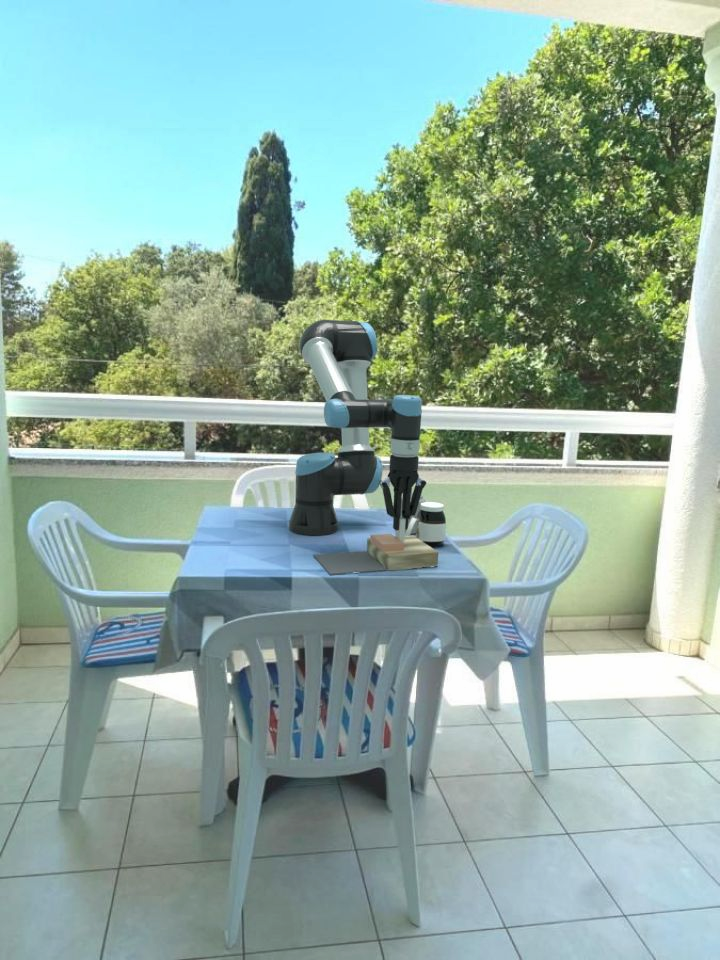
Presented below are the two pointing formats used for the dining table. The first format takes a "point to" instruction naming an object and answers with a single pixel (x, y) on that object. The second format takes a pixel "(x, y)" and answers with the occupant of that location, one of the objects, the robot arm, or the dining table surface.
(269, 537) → the dining table surface
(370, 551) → the wooden block
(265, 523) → the dining table surface
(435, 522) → the spread jar
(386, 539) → the light brown flat block
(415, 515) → the can
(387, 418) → the robot arm
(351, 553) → the mat
